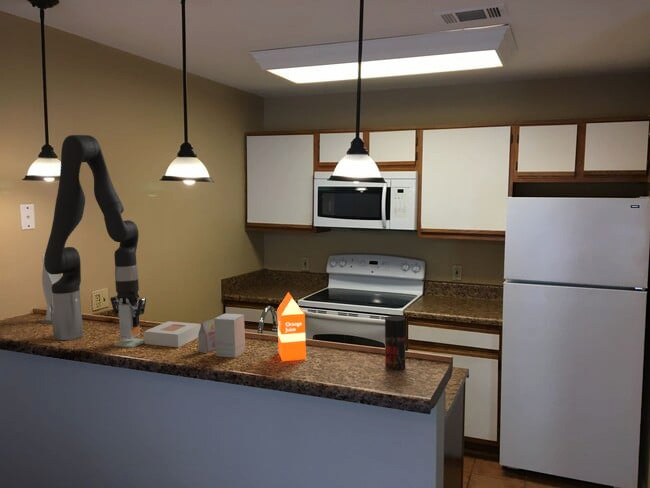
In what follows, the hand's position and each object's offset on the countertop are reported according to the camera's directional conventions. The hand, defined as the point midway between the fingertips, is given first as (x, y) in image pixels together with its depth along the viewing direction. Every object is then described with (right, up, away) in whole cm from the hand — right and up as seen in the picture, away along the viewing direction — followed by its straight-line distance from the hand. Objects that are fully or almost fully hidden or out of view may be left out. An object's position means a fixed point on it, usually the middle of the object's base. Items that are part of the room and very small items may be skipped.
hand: (129, 326), depth 190 cm
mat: (0, -6, +1) cm, 6 cm away
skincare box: (0, -4, 0) cm, 4 cm away
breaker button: (+14, -5, +4) cm, 16 cm away
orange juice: (+58, -7, -16) cm, 60 cm away
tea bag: (+30, -7, -8) cm, 32 cm away
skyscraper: (-44, -3, +35) cm, 56 cm away
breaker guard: (+14, -6, +4) cm, 16 cm away
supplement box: (+38, -7, -13) cm, 40 cm away
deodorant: (+89, -8, -29) cm, 94 cm away
